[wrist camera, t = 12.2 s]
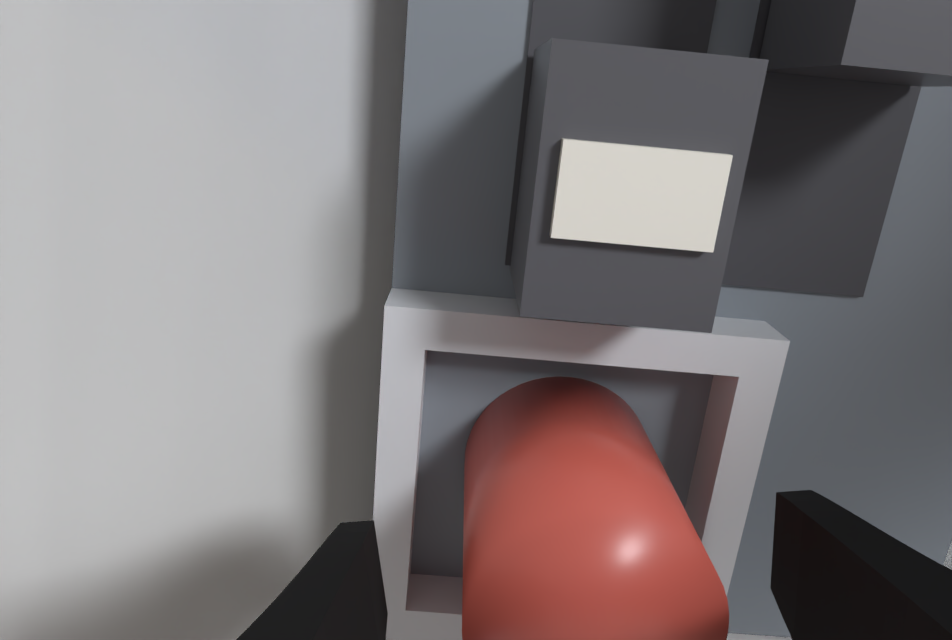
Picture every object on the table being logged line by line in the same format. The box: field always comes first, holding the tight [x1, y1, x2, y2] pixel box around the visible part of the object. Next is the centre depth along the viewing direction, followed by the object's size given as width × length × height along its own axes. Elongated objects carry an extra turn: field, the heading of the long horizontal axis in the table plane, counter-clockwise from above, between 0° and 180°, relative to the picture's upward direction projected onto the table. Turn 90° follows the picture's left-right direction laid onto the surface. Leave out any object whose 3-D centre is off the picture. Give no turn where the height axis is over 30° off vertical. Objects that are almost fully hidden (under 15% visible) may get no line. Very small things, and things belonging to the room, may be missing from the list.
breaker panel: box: [373, 0, 952, 640], centre depth 14 cm, size 13×17×2 cm
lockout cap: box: [462, 376, 729, 640], centre depth 13 cm, size 4×4×5 cm
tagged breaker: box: [510, 38, 769, 333], centre depth 12 cm, size 3×4×3 cm
